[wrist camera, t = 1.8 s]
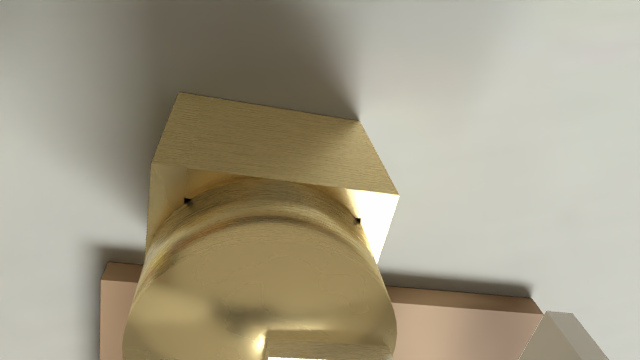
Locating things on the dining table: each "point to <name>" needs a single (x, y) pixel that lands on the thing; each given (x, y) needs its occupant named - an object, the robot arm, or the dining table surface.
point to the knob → (263, 239)
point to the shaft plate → (410, 311)
